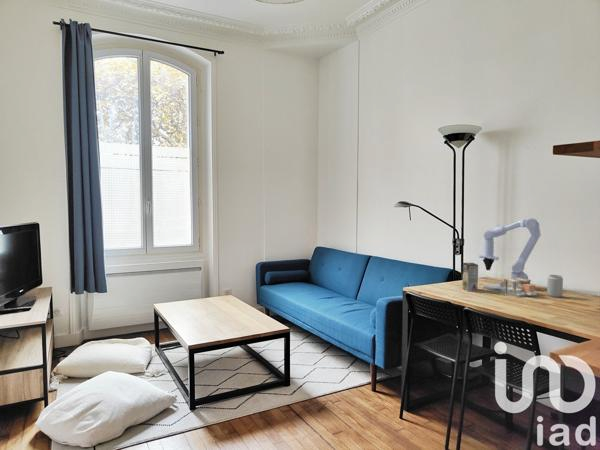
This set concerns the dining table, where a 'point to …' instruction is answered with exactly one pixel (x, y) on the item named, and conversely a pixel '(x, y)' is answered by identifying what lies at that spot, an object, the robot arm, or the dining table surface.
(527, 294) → the sled
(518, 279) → the tunnel
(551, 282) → the can
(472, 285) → the coffee box
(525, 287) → the block
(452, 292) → the dining table surface
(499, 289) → the track
